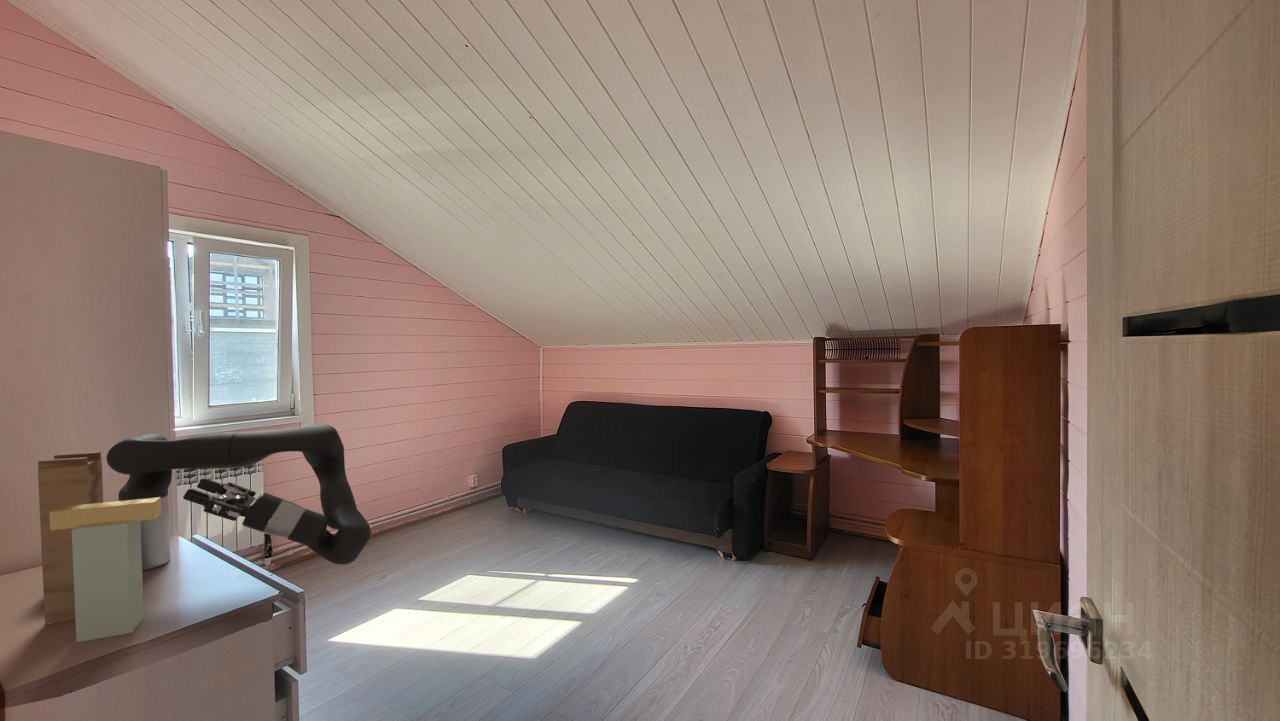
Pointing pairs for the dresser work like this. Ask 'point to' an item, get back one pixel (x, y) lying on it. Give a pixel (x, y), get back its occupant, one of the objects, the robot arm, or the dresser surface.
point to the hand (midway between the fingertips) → (192, 487)
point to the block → (107, 580)
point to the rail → (104, 513)
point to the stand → (64, 486)
